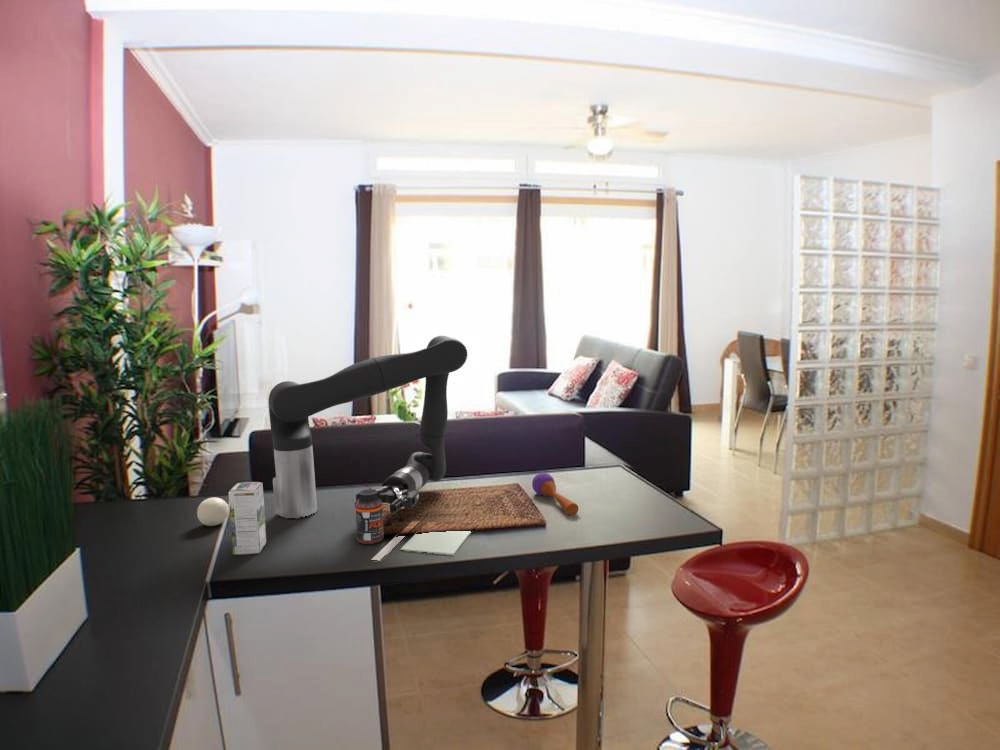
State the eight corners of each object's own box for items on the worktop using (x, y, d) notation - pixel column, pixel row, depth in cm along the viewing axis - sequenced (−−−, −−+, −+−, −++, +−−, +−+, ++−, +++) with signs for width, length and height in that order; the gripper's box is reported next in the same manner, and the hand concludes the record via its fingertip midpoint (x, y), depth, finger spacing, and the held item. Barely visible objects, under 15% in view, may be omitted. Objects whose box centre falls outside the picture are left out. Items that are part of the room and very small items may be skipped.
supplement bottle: (372, 547, 144) (369, 497, 142) (351, 542, 146) (348, 494, 145) (389, 537, 149) (387, 489, 147) (369, 533, 152) (366, 485, 150)
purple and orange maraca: (559, 502, 157) (527, 473, 175) (563, 524, 159) (530, 493, 177) (581, 495, 159) (547, 466, 177) (584, 516, 161) (550, 486, 179)
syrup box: (241, 544, 147) (235, 482, 145) (268, 543, 147) (262, 480, 145) (232, 555, 141) (226, 490, 139) (261, 553, 142) (255, 489, 139)
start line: (371, 560, 137) (371, 559, 137) (412, 521, 158) (412, 520, 158) (380, 561, 136) (380, 560, 136) (420, 522, 157) (420, 521, 157)
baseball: (236, 520, 162) (234, 494, 161) (215, 531, 155) (212, 504, 154) (214, 517, 164) (212, 492, 163) (192, 528, 157) (189, 501, 156)
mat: (400, 550, 141) (400, 548, 141) (427, 522, 157) (427, 521, 157) (453, 555, 138) (453, 553, 138) (475, 526, 153) (475, 525, 153)
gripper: (375, 469, 166) (344, 490, 150) (428, 472, 162) (402, 494, 146) (377, 498, 167) (346, 521, 151) (430, 501, 163) (404, 526, 148)
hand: (374, 508), depth 149 cm, fingers open, 8 cm apart
